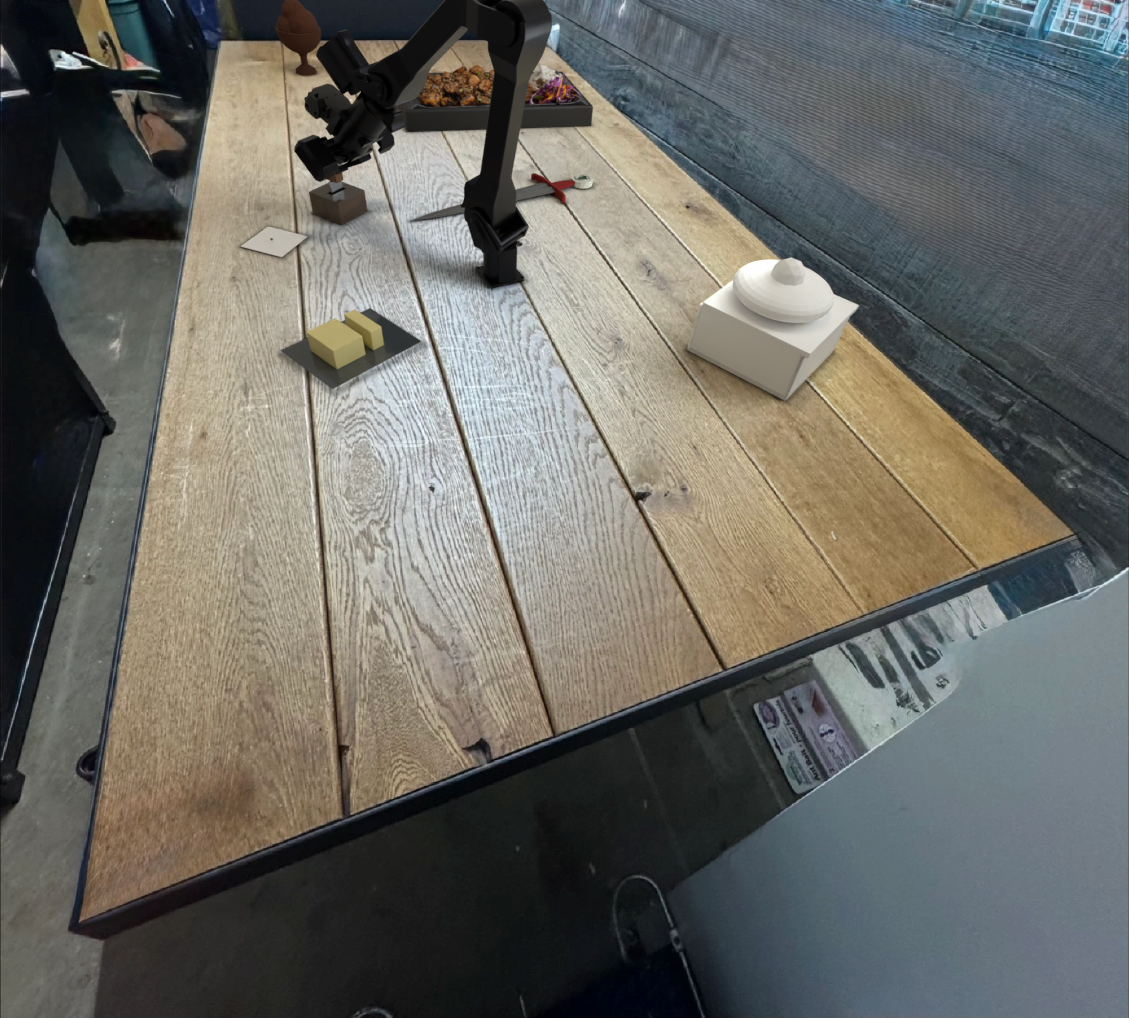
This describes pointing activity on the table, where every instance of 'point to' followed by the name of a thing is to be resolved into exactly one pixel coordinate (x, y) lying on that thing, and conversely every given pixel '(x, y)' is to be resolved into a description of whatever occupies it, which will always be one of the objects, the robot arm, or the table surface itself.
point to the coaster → (274, 241)
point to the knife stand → (338, 203)
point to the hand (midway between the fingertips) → (327, 171)
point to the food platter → (468, 97)
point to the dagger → (530, 191)
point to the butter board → (393, 345)
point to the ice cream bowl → (298, 33)
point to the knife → (335, 183)
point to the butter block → (336, 343)
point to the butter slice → (365, 329)
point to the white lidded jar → (771, 325)
